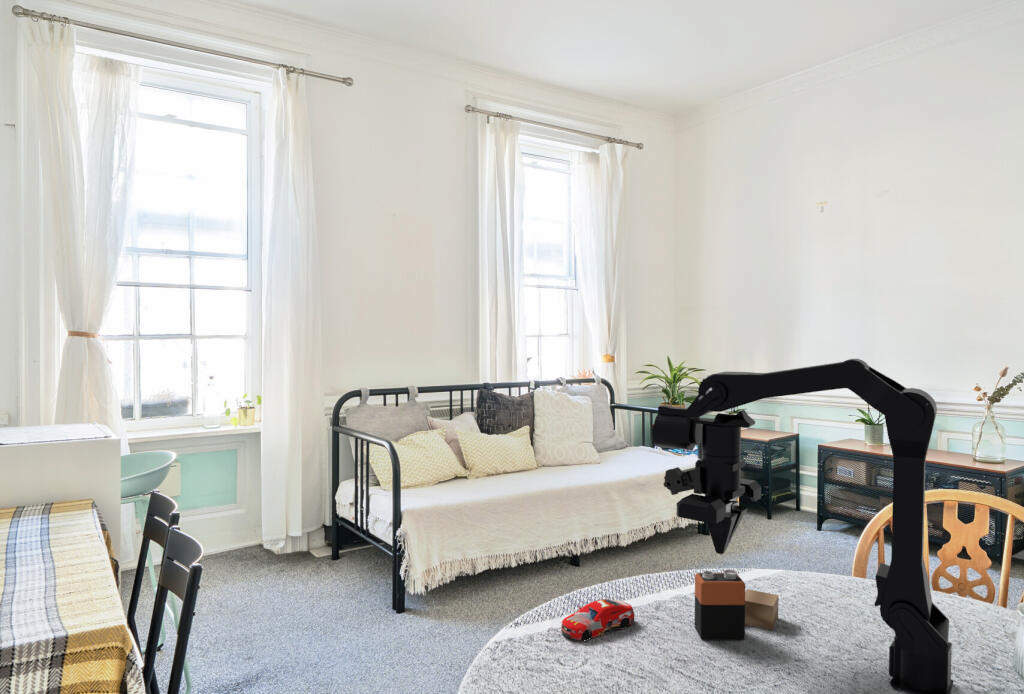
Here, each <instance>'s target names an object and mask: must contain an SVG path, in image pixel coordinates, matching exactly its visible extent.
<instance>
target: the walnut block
mask: <svg viewBox="0 0 1024 694" xmlns="http://www.w3.org/2000/svg"><path fill="white" fill-rule="evenodd" d="M778 619H779V595H778V594H774V593H770V592H769V593H768V592H766V591H765V592H763V591H759V590H753V589H749V588H746V589H745V625H747V626H751V627H752V626H753V627H757V628H761V629H765V630H770V631H773V630H774V629H775V626H776V624H777V622H778Z"/></svg>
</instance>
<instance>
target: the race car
mask: <svg viewBox="0 0 1024 694" xmlns="http://www.w3.org/2000/svg"><path fill="white" fill-rule="evenodd" d="M634 622H635V611H634V608H633V606H632V605H631V604H629V603H627V602H625V601H623V600H621V599H620V600H619V599H611V598H605V599H598V600H597V599H596V600H594V601H591V602H590V603H588V604H585V605H583V607H582V606H581V607H580V606H579V607H578V610H577V611H576V612H574V613H571V614H570V615H568V616H566V617H564V619H562V621H561V634H562V635H563V636H565V637H567V638H569V639H571V640H575V641H576V640H577V641H582V642H583V641H584V640H587V639H589V638H590V640H591V639H593V638H596V637H599V636H602V635H606V634H608V633H612V632H614V631H618V630H623V629H626V628H625V627H627V628H629V626H631V625H632V624H633V623H634ZM620 628H621V629H620ZM622 628H623V629H622ZM587 641H588V640H587Z"/></svg>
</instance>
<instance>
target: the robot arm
mask: <svg viewBox="0 0 1024 694" xmlns="http://www.w3.org/2000/svg"><path fill="white" fill-rule="evenodd" d="M841 389H842V390H843V389H847V390H850V392H852V393H854V394H855V395H856V396H858V397H859V398H860V399H862V400H863V401H864V402H866V403H867V404H868V405H869V406H870V407H872V408H873V409H874V410H875V411H877V412H879V413H880V414H882V415H884V420H885V426H886V427H885V428H886V431H887V432H886V434H887V437H888V441H889V446H890V450H891V454H892V457H893V458H892V459H893V471H892V472H893V473H892V474H893V477H892V478H893V479H892V517H891V520H892V521H891V558H890V564H886V563H883V562H880V563H879V566H878V568H877V571H876V574H875V584H876V589H877V590H876V591H877V595H876V596H875V597H876V598H875V601H874V605H873V606H875V607H878V606H879V612H880V617H881V619H882V621H883V622H885V624H886V625H887V626H888V627H889V628H890V629H891V630H893V632H894V634H895V635H894V638H893V640H892V642H891V643H890V646H889V648H888V651H889V652H888V653H889V654H888V675H889V676H890V678H891V679H890V681H889V686H890V687H892V688H894V689H897V690H899V691H903V692H907V693H909V694H951V692H952V689H953V686H954V680H953V679H952V648H953V645H952V642H950V641H949V634H950V632H949V630H950V618H948V617H947V616H946V615H945V614H944V613H943V612H942V610H940V608H938V606H937V605H936V604H935V603H934V602H933V599H932V591H931V588H930V582H929V576H928V572H927V567H926V564H925V559H924V543H925V541H924V538H925V536H924V535H925V530H924V529H925V504H926V503H925V499H926V498H925V497H926V464H927V463H926V461H927V455H928V450H929V446H930V441H931V438H932V434H933V429H934V426H935V421H936V417H937V413H938V407H937V403H936V401H935V399H934V398H933V397H932V396H931V394H929V393H928V392H927V391H925V390H923V389H920V388H915V387H910V388H907V387H905V386H903V384H900V383H899V382H897V381H896V380H894V379H893V378H890V377H889V376H887V375H886V374H883V373H882V372H880V371H878V370H877V369H875V368H873V367H871V366H870V365H869V364H868V363H867V362H866V361H864V360H862V359H860V358H849V359H847V360H844V361H838V362H832V363H831V362H830V363H825V364H818V365H812V366H811V365H810V366H804V367H797V368H791V369H784V370H777V371H776V370H775V371H771V372H749V371H721V372H716V373H713V374H710V375H706V376H705V377H703V379H702V380H701V382H700V383H699V386H698V392H697V393H698V394H697V395H696V397H695V399H694V400H693V401H692V402H691V403H690V404H689V406H688V407H679V406H672V405H670V404H669V405H668V404H662V405H660V406H657V413H656V416H655V419H654V422H653V427H651V435H652V442H653V444H654V446H655V447H657V448H663V449H664V448H665V449H666V448H667V449H674V450H683V451H693V450H694V449H695V447H696V445H697V446H698V445H700V444H701V445H702V446H701V447H702V448H701V458H699V459H697V460H696V461H695V464H694V467H691V468H686V469H681V468H680V467H679V466H678V467H677V466H676V467H674V468H669V469H667V470H665V474H664V476H663V479H664V482H663V487H664V488H666V489H667V490H668V491H669V492H670V494H671V495H672V496H675V495H678V494H679V493H683V492H688V491H692V490H693V493H691V494H689V495H686V496H685V497H682V498H681V499H679V501H677V502H676V516H677V517H678V518H681V519H687V520H691V521H697V522H700V523H701V522H702V523H706V525H707V528H708V531H709V535H710V538H711V540H712V545H713V547H714V551H715V553H716V554H719V555H723V554H725V553H726V550H727V549H728V547H729V545H730V543H731V541H732V539H733V537H734V534H735V532H736V531H737V529H738V526H739V524H740V522H741V521H742V519H743V518H744V515H745V513H746V512H747V511H748V507H747V506H743V505H739V504H740V503H739V500H737V499H738V498H740V497H749V499H750V500H751V502H757V501H758V500H761V499H762V486H761V485H760V484H759V483H758V482H757V480H755V479H747V478H741V473H742V472H741V471H742V470H741V469H742V468H743V469H744V467H746V460H745V459H741V457H742V456H741V453H742V450H741V449H742V448H741V445H742V442H741V441H742V428H745V429H746V428H747V429H749V428H750V427H753V426H754V425H755V424H756V421H755V419H753V418H752V417H751V416H750V415H748V412H747V411H746V410H745V409H742V410H740V411H738V412H737V413H735V414H734V413H733V414H732V413H721V412H724V411H727V410H731V409H734V408H737V407H741V406H743V405H744V406H745V405H747V404H750V403H753V402H757V401H760V400H764V399H769V398H776V397H784V396H795V395H801V394H808V393H817V392H824V391H832V390H841ZM713 412H714V413H715V412H716V415H715V417H714V418H711V417H710V418H708V417H702V416H705V415H708V414H711V413H713ZM717 412H718V413H717Z"/></svg>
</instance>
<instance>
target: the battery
mask: <svg viewBox="0 0 1024 694" xmlns="http://www.w3.org/2000/svg"><path fill="white" fill-rule="evenodd" d="M745 592H746V583H745V582H744V580H743V579H742V578H741V577H740V576H739V574H738V572H737V571H736V570H733V569H724V570H723V571H722V572H713V571H711V570H704V571H703V572H697V573H695V574H694V629H695V630H696V632H697V634H698V636H699V638H700V639H701V640H702V641H743V640H745V638H746V637H745V636H746V624H745Z"/></svg>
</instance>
